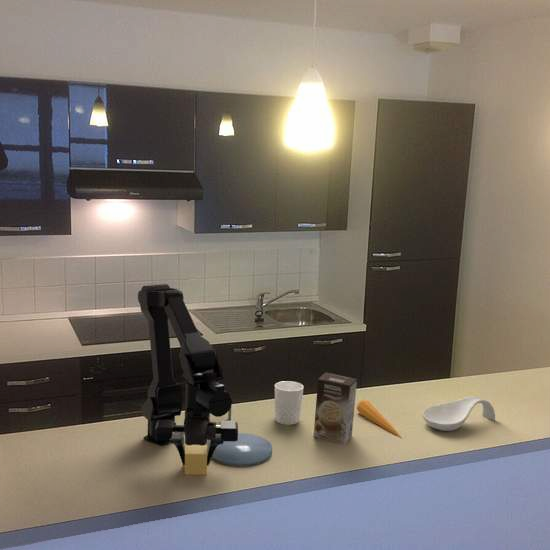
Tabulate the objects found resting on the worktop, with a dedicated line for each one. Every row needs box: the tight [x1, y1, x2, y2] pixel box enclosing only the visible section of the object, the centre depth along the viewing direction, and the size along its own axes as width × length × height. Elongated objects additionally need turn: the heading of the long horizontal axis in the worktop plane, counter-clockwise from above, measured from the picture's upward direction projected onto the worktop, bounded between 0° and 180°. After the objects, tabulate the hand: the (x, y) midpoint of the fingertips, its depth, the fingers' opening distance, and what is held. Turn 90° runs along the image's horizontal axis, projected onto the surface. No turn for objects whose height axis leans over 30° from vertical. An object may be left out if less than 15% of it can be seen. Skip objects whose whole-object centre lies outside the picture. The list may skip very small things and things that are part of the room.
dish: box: [206, 432, 273, 467], centre depth 167 cm, size 16×16×1 cm
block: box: [184, 444, 208, 475], centre depth 157 cm, size 5×5×5 cm
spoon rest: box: [421, 395, 496, 432], centre depth 191 cm, size 24×12×7 cm, turn 119°
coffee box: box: [313, 372, 358, 445], centre depth 177 cm, size 9×6×16 cm
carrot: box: [356, 399, 403, 439], centre depth 188 cm, size 20×4×4 cm, turn 27°
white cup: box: [274, 380, 304, 426], centre depth 187 cm, size 8×8×10 cm
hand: (195, 464), depth 157 cm, fingers closed on block, 5 cm apart
